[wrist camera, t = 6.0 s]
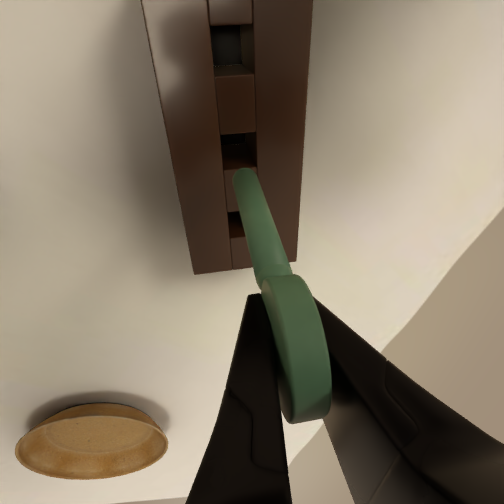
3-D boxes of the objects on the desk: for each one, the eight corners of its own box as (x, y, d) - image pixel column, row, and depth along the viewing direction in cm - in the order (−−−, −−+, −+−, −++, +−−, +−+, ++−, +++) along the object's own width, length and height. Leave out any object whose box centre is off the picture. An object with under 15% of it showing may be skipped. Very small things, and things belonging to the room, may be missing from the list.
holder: (289, -44, 14) (317, -64, 11) (281, 228, 23) (296, 261, 20) (142, -41, 13) (128, -61, 10) (193, 239, 22) (193, 275, 19)
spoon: (255, 145, 13) (351, 373, 6) (256, 215, 15) (324, 438, 8) (228, 147, 13) (292, 383, 6) (234, 217, 15) (282, 446, 8)
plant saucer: (149, 457, 41) (147, 480, 39) (19, 455, 36) (9, 481, 33) (187, 397, 34) (186, 422, 32) (33, 383, 29) (20, 411, 26)
